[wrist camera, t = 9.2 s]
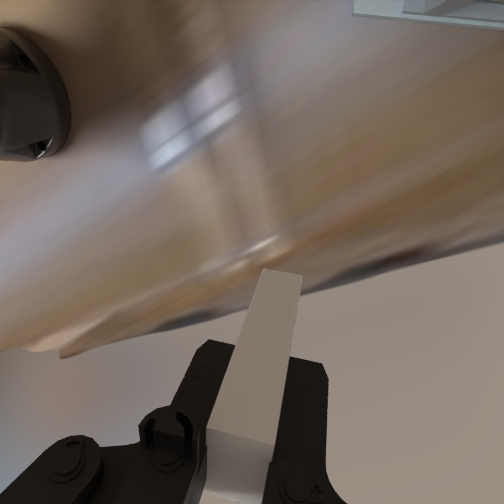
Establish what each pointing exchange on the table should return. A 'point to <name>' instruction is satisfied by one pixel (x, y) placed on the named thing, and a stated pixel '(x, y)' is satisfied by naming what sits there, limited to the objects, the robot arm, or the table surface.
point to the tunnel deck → (436, 12)
